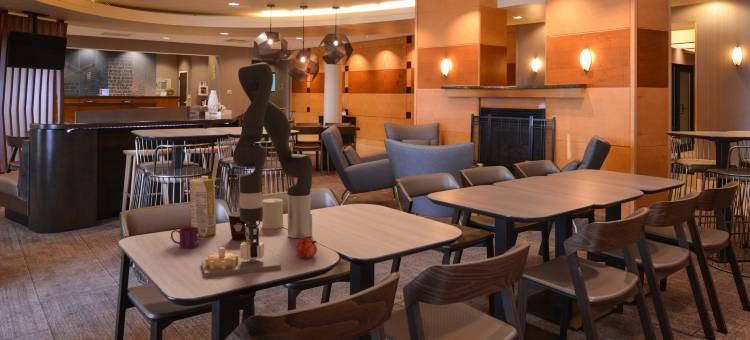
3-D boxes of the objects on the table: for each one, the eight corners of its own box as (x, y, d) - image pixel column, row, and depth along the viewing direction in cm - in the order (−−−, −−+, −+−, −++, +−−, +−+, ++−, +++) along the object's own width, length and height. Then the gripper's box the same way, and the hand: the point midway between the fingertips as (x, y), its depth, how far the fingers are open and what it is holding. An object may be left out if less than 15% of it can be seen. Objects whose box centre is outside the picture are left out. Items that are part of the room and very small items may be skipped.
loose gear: (262, 253, 190) (261, 240, 189) (265, 258, 184) (265, 245, 184) (239, 255, 187) (239, 242, 186) (242, 260, 181) (241, 247, 181)
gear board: (272, 257, 195) (272, 238, 194) (280, 269, 183) (280, 248, 182) (201, 264, 187) (200, 244, 186) (205, 277, 174) (204, 255, 173)
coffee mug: (224, 240, 218) (223, 215, 217) (237, 235, 226) (237, 211, 225) (249, 243, 214) (248, 217, 213) (261, 237, 222) (261, 213, 220)
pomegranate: (293, 265, 193) (312, 252, 189) (285, 247, 196) (303, 233, 191) (307, 262, 200) (326, 249, 195) (299, 245, 202) (317, 231, 197)
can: (273, 230, 235) (272, 202, 233) (257, 227, 240) (256, 199, 238) (287, 225, 242) (287, 198, 241) (272, 223, 247) (271, 196, 246)
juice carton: (219, 233, 228) (217, 176, 224) (204, 238, 221) (201, 178, 218) (203, 230, 233) (201, 174, 229) (188, 234, 226) (186, 176, 223)
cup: (195, 249, 206) (194, 231, 205) (168, 248, 206) (167, 230, 205) (201, 244, 212) (200, 226, 211) (175, 243, 213) (175, 226, 212)
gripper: (266, 208, 178) (267, 259, 180) (258, 200, 191) (259, 248, 194) (242, 210, 175) (244, 261, 178) (236, 202, 189) (238, 250, 191)
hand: (252, 254), depth 186 cm, fingers closed on loose gear, 6 cm apart
